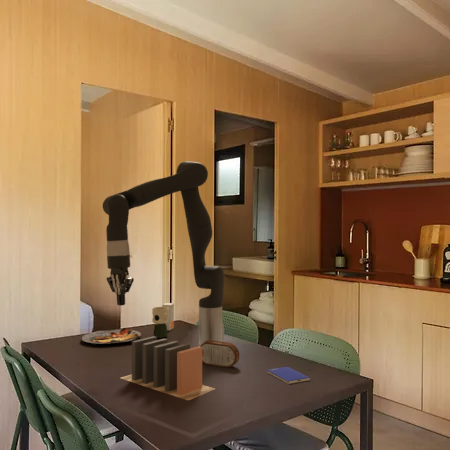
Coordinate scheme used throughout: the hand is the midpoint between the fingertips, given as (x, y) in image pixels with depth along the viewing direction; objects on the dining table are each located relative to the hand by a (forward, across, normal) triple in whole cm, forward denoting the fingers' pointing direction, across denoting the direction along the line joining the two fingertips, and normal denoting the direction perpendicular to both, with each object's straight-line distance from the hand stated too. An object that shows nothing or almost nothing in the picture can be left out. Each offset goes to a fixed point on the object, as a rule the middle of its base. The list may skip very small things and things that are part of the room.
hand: (121, 305), depth 159 cm
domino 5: (+23, +32, 0) cm, 39 cm away
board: (+23, +21, 0) cm, 32 cm away
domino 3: (+22, +22, 0) cm, 31 cm away
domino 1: (+22, +12, -1) cm, 25 cm away
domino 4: (+23, +26, 0) cm, 35 cm away
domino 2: (+22, +16, 0) cm, 28 cm away
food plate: (+22, -40, +22) cm, 51 cm away
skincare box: (+23, -39, +52) cm, 69 cm away
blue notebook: (+26, +43, +33) cm, 61 cm away
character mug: (+23, -28, +39) cm, 53 cm away
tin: (+25, +19, +26) cm, 40 cm away
